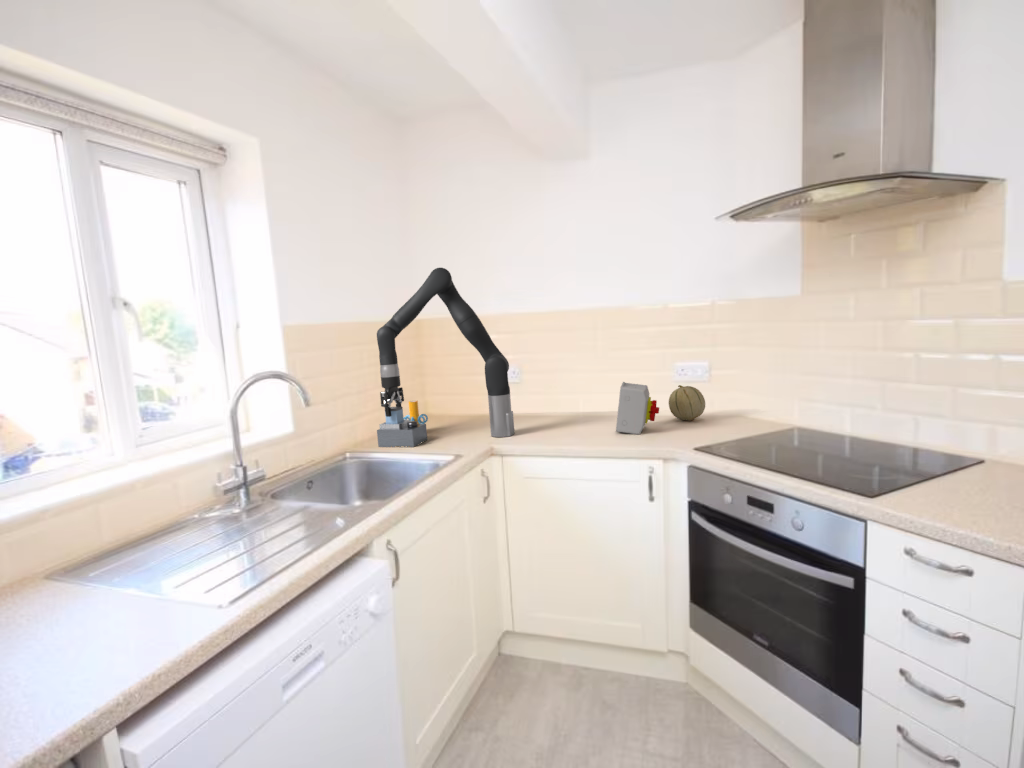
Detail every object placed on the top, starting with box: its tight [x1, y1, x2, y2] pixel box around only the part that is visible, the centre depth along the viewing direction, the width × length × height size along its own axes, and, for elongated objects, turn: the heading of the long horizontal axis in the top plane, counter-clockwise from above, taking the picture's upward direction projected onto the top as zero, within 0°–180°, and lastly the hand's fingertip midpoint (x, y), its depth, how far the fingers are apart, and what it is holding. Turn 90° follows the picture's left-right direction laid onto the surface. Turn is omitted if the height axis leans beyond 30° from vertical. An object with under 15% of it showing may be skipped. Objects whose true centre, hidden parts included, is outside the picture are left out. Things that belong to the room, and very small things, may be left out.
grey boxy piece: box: [376, 419, 428, 448], centre depth 211 cm, size 16×12×9 cm
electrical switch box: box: [615, 381, 660, 435], centre depth 203 cm, size 15×15×20 cm
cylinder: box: [403, 400, 429, 424], centre depth 228 cm, size 12×10×15 cm
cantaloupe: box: [668, 385, 706, 422], centre depth 217 cm, size 15×15×15 cm
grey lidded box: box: [384, 406, 405, 424], centre depth 211 cm, size 5×5×8 cm
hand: (394, 414), depth 211 cm, fingers open, 8 cm apart
